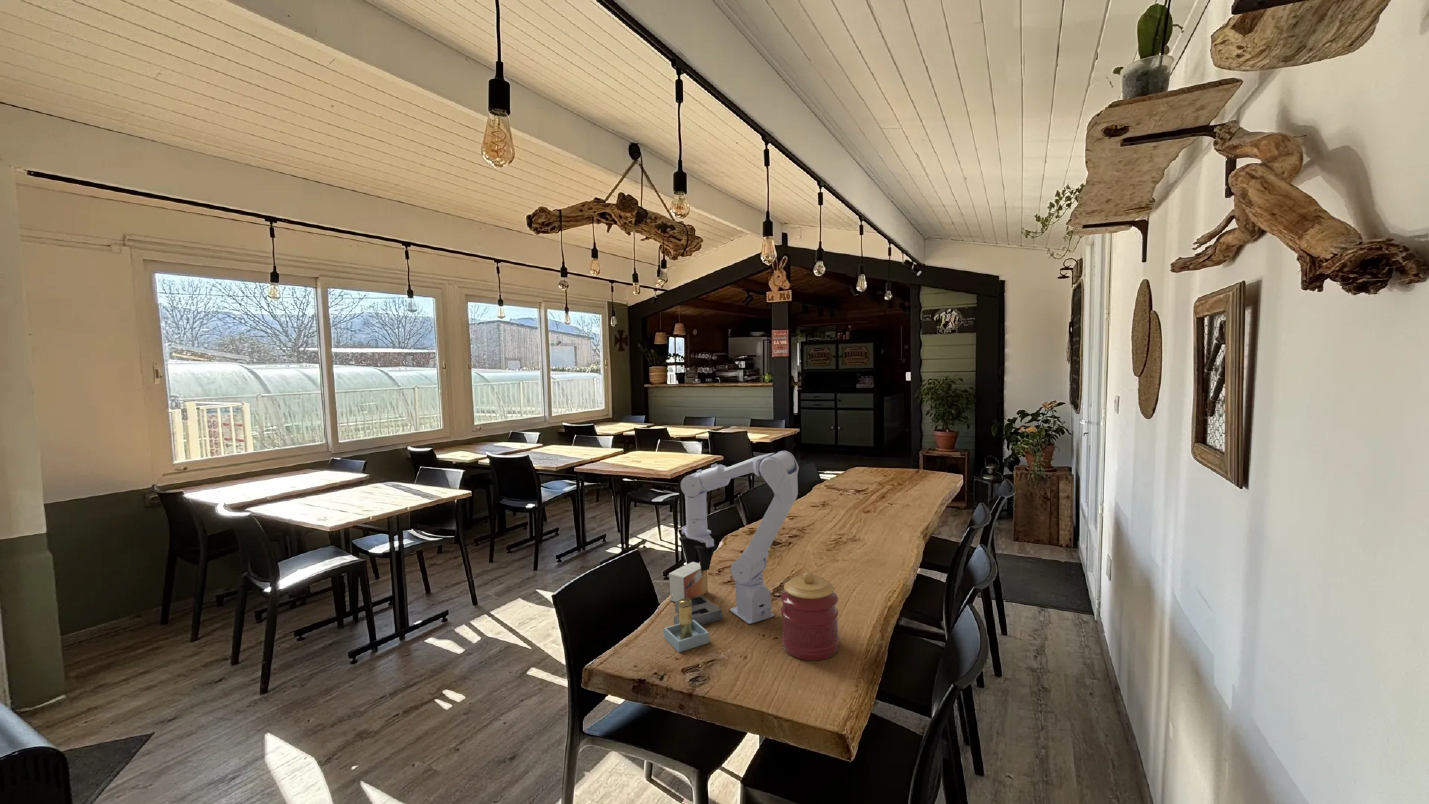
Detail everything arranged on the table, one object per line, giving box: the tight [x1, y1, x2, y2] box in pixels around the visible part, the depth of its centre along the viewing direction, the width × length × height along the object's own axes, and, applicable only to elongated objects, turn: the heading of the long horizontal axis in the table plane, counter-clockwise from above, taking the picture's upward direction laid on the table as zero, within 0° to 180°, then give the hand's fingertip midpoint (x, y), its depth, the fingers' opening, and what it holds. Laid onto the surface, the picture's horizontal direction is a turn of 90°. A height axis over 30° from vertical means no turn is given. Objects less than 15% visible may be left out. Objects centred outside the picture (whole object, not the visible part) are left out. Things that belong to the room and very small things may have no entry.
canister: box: [780, 571, 840, 661], centre depth 127 cm, size 13×13×18 cm
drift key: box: [673, 613, 700, 625], centre depth 141 cm, size 3×7×3 cm, turn 120°
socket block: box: [674, 594, 723, 627], centre depth 146 cm, size 11×8×3 cm
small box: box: [668, 561, 709, 603], centre depth 158 cm, size 8×6×10 cm
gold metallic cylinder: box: [678, 598, 693, 640], centre depth 133 cm, size 3×3×9 cm
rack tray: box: [663, 619, 710, 653], centre depth 133 cm, size 8×8×2 cm
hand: (698, 565), depth 153 cm, fingers open, 7 cm apart
